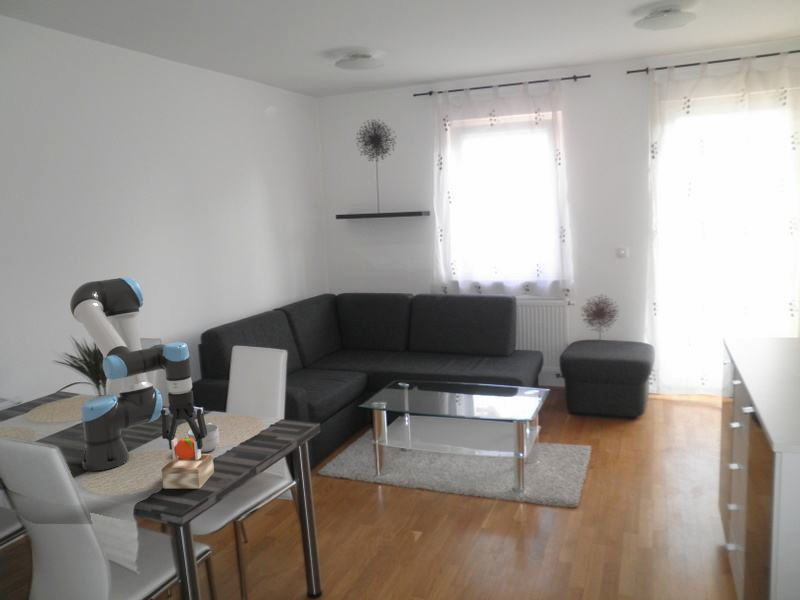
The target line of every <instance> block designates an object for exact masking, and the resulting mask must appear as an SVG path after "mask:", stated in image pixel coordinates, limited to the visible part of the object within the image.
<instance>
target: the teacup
mask: <svg viewBox="0 0 800 600" xmlns="http://www.w3.org/2000/svg"><path fill="white" fill-rule="evenodd" d="M205 425H206V429H207V436H206V437H205V438H202V444H203V447H202V448H201V454H203V453H208V452H211V451H213V450H215V449H216V447H217V446H218V445H219V443H220V433H219V425H217V424H213V423H212V422H207V424H206V423H205ZM198 428H199V425H198ZM187 435H188V438H191V439H193V440H195V439H196V438H195V436H194V434H193V432H192V430H191V429H189V430H188V431H187Z"/></svg>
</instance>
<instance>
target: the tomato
mask: <svg viewBox="0 0 800 600" xmlns="http://www.w3.org/2000/svg"><path fill="white" fill-rule="evenodd" d="M177 442H178V443H177V445H176V454H177V455H178V456H179V457H180V458H182V459H190V458H192V457H194V456H195V449H194V440H193V439H191V438H189V437H184V438H181V439H180V440H178V441H177Z"/></svg>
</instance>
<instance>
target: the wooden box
mask: <svg viewBox="0 0 800 600" xmlns="http://www.w3.org/2000/svg"><path fill="white" fill-rule="evenodd" d="M213 457H214V456H213V453H201V457H200V458H199V459H198V460H196V458H195V456H194V457H192V458H190V459H182V458H180V457H178V458H177V459H176V460H173V458H172V459H171V460H170V461H169V462H168V463H166V465H164V466H163V467H162V468H161V476H162V478H161V479H162V487H163V489H201V488H202V487H203V485H204V484H205V483H206V482H207V481H208V480H209V479H210V478H211V476H212V475H213V474H214V473H215V465H214V458H213Z"/></svg>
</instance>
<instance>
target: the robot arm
mask: <svg viewBox="0 0 800 600" xmlns="http://www.w3.org/2000/svg"><path fill="white" fill-rule="evenodd" d="M143 305H144V294H143V291H142V288H141V287H140V285H139V283H138V282H137V281H136V280H135V279H133V278H132V277H118V278H112V279H104V280H103V279H102V280H95V281H94V280H93V281H89V282H85V283H83V284H82V285H79V287H78V288H77V289H75V291H74V292H73V294H72V296H71V297H70V311H71V313H72V316H73V317H74V319H75V320H76V322H78V323H81V324H82V325H83V327H84V329H85V330H86V331H87V333H88V335H89V336H90V337H91V339H92V341H93V342H94V344H95V345H96V347H97V348H98V349H99V351H100V353H101V354H102V356H103V357H104V358H103V360H102V370H103V372H104V375H105V377H106V378H107V379H109V380H117V379H121V383H122V387H121V389H120V390H119V397H117V396H116V395H115V394H106V395H101V396H100V395H99V396H97V397H93V398H92V399H90V400H88V401H86V402H85V403H83V405H82V406H81V421H82V429H83V437H84V442H85V444H84V445H85V447H84V450H83V451H84V452H83V456H82V462H81V463H82V468H83V470H85V471H88V472H89V471H90V472H97V471H96V470H102V471H105V470H104V469H108V470H110V469H109V468H112V467H115V466H118V465H120V466H122V465H124V464H125V463H124V462H126V461H127V460H128V459H130V453H129V450H128V449H127V446H126V444H125V442H124V440H123V439H122V431H123V430H126V429H129V428H133V427H137V426H141V425H143V424H148V423H150V422H154V421H156V420H158V419H159V418H160V416H161V429H162V430H161V431H162V432H161V436H162V439H163V440H168V445H169V447H168V448H169V450H171V451H172V459H173V460H176V459H177V458H178V457H179V456H178V455H177V454H176V445H177V443H178V442H179V441H178V437H176V433H177V429H178V425H179V421H180V420H185V421H186V422H187V424H188V425H189V428H190V430H192V432H193V434H194V436H195V438H196V439H195V440H194V449H195V458H196V460H198V459H199V458H200V457H201V454H202V453H201V448H202V447H203V444H202V438H205V437H206V436H207V429H206V421H205V417H204V412H205V408H204V407H203V406H200V407H197V406H196V405H195V403H194V392H193V389H192V388H193V382H192V374H191V364H190V351H189V348H188V344H187V343H185V342H184V341H183V342H182V341H181V342H180V341H174V342H169V343H166V344H162V343H161V344H160V343H157V344H153V345H151V346H150V347H149V348H142V344H141V338H140V333H139V327H138V322H137V316H139V313H140V308H141V307H143ZM157 370H158V371H159V370H164V372H165V379H166V388H167V392H168V394H167V396H168V397H167V398H168V403H169V406H168V407H164V408H163V398H162V395H161V392H160V390H159V389H157V388H155V387H154V384H153V383H151V382H149V380H148V376H147V373H150V372H153V371H154V372H155V371H157ZM194 412H195V415H196V419H197V422H196V420H195V416H194V414H193V413H194ZM170 413H171V415H172V418H171V425H170ZM198 426H199V428H198ZM128 461H129V460H128ZM128 461H127V462H128ZM127 462H126V463H127ZM123 463H124V464H123ZM121 464H122V465H121ZM118 467H119V466H118ZM115 468H116V467H115ZM112 469H113V468H112Z"/></svg>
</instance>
